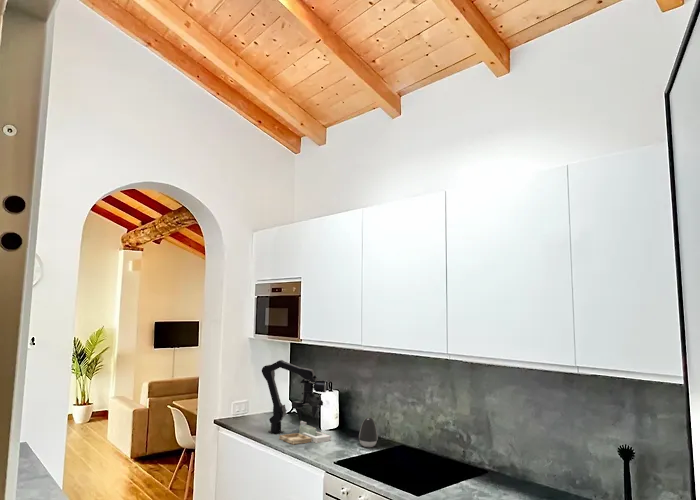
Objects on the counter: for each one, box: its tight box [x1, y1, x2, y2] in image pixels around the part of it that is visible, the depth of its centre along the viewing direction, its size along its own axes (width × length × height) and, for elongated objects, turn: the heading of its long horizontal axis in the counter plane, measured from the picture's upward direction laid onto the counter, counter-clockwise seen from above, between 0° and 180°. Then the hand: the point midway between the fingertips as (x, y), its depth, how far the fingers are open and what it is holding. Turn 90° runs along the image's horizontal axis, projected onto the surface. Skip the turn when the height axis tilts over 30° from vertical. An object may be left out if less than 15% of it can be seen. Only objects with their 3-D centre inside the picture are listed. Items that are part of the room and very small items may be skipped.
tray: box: [278, 432, 313, 446], centre depth 284 cm, size 14×12×2 cm
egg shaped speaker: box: [358, 416, 379, 448], centre depth 279 cm, size 10×10×15 cm
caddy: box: [298, 420, 317, 436], centre depth 297 cm, size 12×5×7 cm, turn 37°
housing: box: [302, 430, 332, 444], centre depth 289 cm, size 14×10×2 cm
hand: (306, 418), depth 297 cm, fingers open, 9 cm apart
